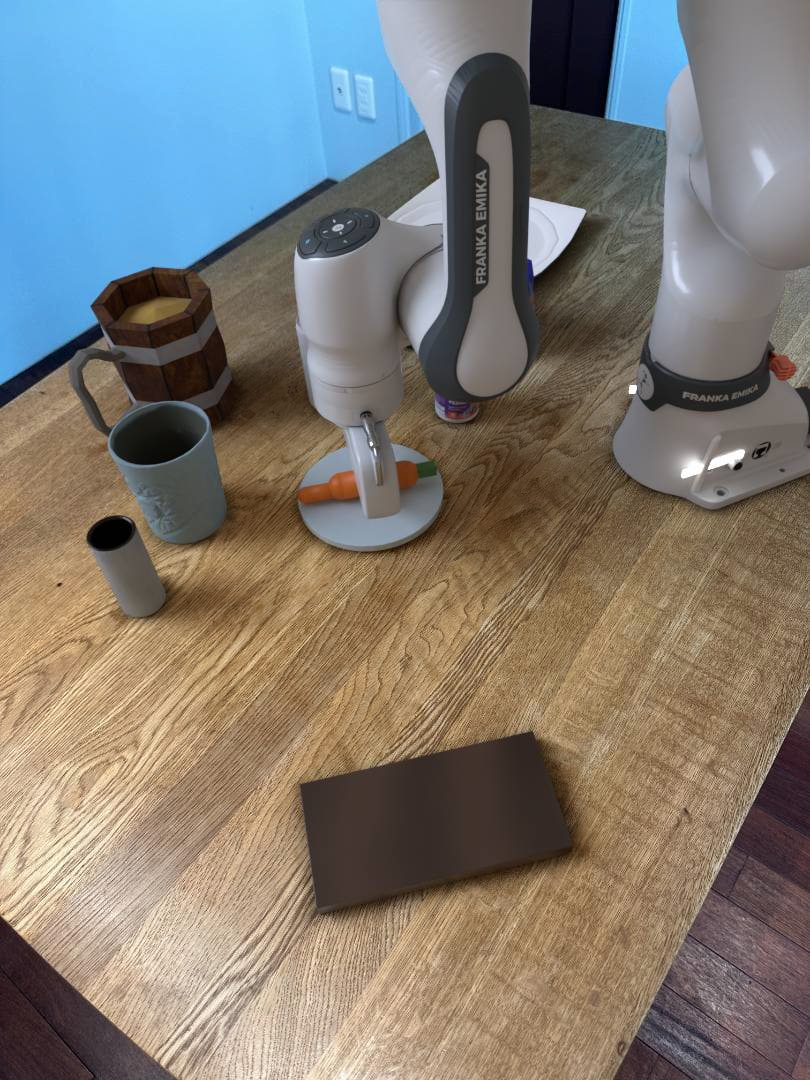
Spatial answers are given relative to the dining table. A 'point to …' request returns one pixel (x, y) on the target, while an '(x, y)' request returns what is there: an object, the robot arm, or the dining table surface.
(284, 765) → the dining table surface
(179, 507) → the blue cup
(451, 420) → the pill bottle
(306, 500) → the carrot
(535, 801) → the cutting board
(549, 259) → the plate
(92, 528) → the grey hollow cylinder
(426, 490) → the side plate
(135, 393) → the mug
